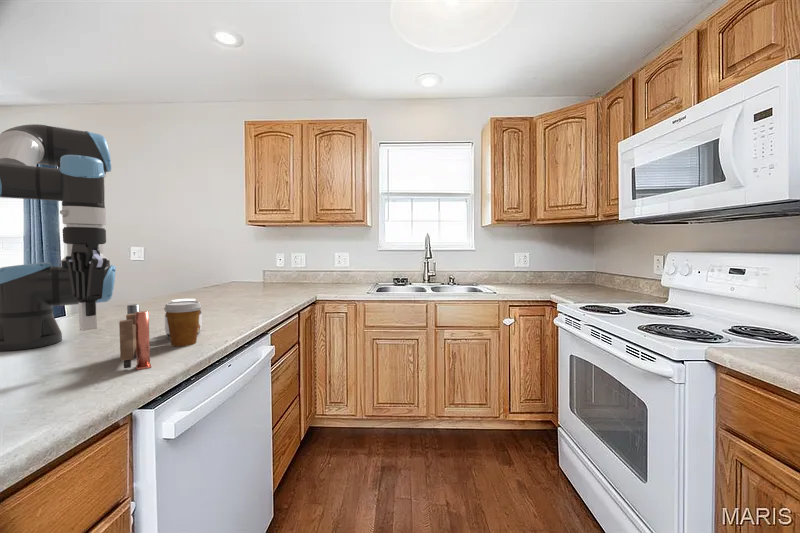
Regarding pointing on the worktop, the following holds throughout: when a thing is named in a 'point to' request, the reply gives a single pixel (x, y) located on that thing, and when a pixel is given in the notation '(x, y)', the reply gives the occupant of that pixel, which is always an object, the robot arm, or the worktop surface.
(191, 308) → the disposable coffee cup
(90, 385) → the worktop surface
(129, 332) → the gate
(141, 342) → the gate posts
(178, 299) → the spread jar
